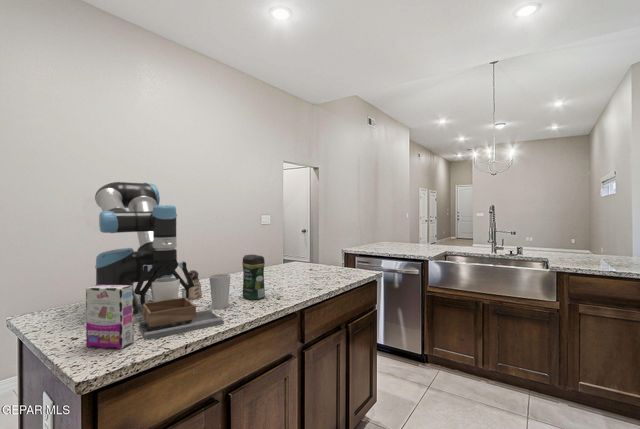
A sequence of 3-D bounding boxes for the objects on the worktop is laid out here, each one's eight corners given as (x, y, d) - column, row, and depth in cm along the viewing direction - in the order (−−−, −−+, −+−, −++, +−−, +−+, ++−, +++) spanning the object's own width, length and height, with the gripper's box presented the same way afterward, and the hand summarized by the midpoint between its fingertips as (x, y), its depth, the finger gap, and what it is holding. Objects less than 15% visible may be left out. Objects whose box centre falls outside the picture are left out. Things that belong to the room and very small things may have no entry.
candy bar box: (134, 342, 93) (134, 284, 93) (121, 349, 88) (121, 288, 88) (100, 340, 95) (99, 283, 94) (85, 347, 90) (84, 287, 90)
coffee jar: (239, 297, 142) (239, 254, 141) (254, 294, 147) (254, 253, 147) (252, 301, 135) (252, 256, 135) (267, 297, 141) (267, 254, 141)
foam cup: (160, 323, 109) (160, 284, 109) (145, 318, 114) (144, 281, 114) (185, 315, 117) (185, 279, 117) (170, 311, 122) (169, 276, 122)
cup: (224, 309, 124) (224, 278, 124) (205, 308, 125) (205, 277, 125) (234, 303, 132) (234, 274, 132) (216, 303, 133) (215, 273, 133)
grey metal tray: (138, 326, 106) (138, 321, 106) (210, 313, 119) (210, 308, 119) (145, 340, 94) (145, 333, 94) (223, 323, 108) (223, 318, 108)
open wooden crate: (142, 319, 106) (142, 303, 106) (185, 312, 114) (185, 297, 114) (149, 331, 95) (149, 313, 95) (196, 322, 103) (195, 305, 103)
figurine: (204, 295, 145) (204, 268, 145) (197, 300, 138) (196, 271, 138) (189, 295, 146) (189, 268, 146) (181, 299, 139) (180, 271, 139)
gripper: (126, 252, 105) (127, 319, 105) (202, 247, 119) (203, 306, 120) (124, 250, 111) (125, 314, 112) (197, 246, 126) (197, 302, 126)
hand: (165, 310), depth 116 cm, fingers open, 12 cm apart
